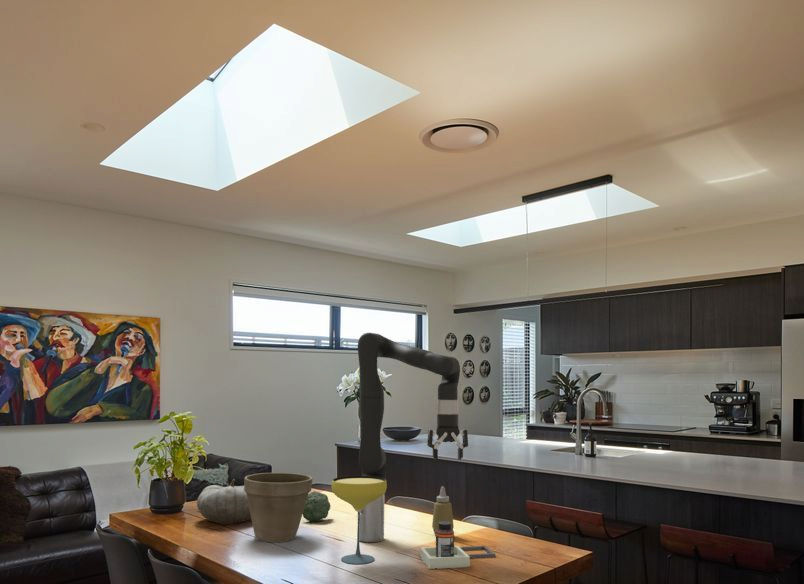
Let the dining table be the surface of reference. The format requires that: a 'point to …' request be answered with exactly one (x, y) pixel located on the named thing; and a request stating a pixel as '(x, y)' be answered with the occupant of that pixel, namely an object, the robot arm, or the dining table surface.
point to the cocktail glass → (358, 503)
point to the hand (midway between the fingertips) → (447, 459)
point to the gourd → (224, 504)
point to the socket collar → (488, 554)
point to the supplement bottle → (444, 540)
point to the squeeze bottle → (442, 511)
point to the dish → (444, 558)
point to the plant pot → (276, 504)
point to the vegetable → (316, 506)
